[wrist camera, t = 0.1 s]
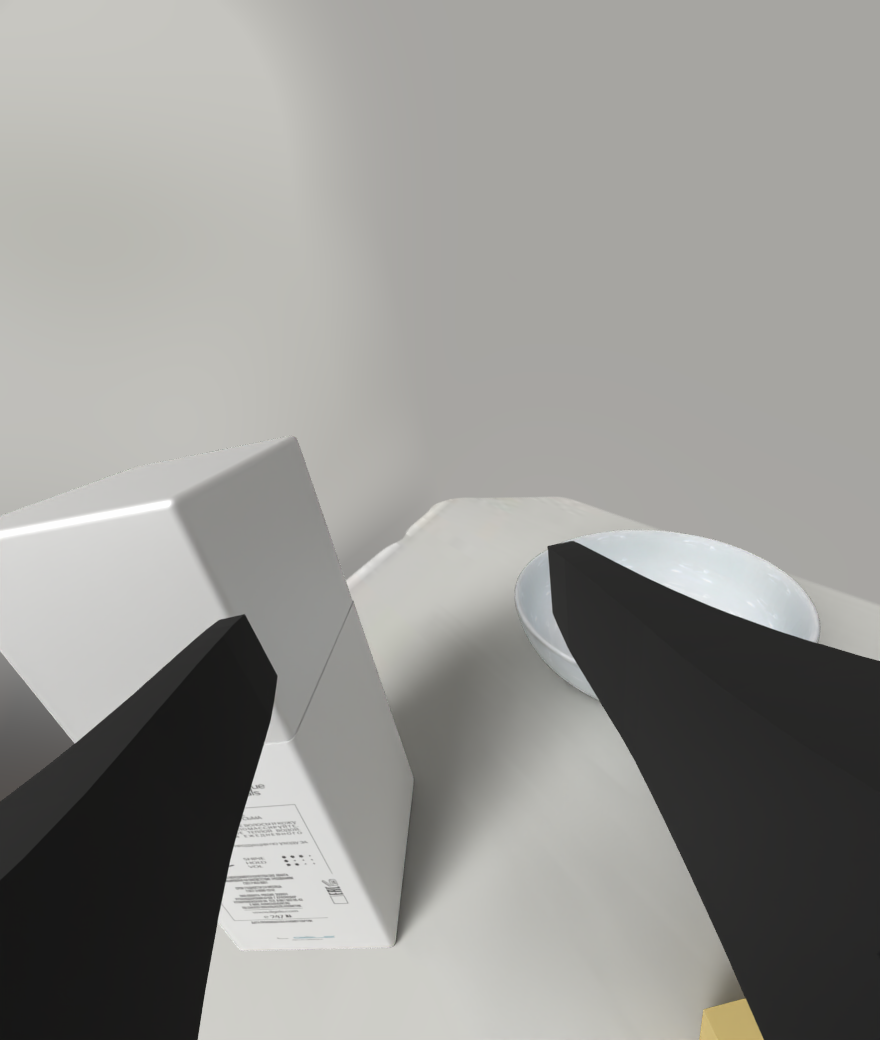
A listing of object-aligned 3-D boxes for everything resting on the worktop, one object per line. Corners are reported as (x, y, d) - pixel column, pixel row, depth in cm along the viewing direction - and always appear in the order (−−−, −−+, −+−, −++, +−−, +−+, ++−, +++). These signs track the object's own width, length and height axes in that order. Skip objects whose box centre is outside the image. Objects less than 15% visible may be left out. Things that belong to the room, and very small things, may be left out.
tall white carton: (415, 777, 28) (298, 433, 19) (396, 950, 20) (173, 498, 11) (300, 786, 29) (134, 466, 20) (238, 953, 21) (-93, 547, 12)
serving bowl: (719, 843, 22) (730, 759, 19) (478, 653, 38) (466, 595, 36) (849, 647, 31) (868, 572, 28) (610, 564, 48) (608, 512, 45)
